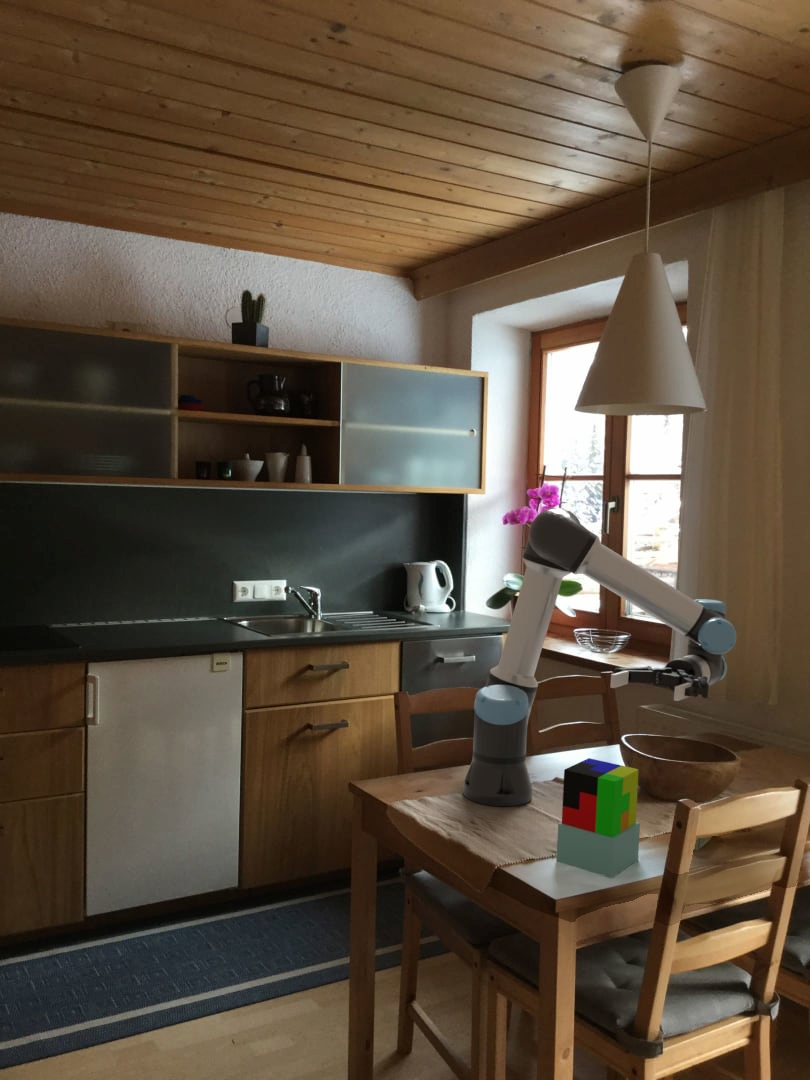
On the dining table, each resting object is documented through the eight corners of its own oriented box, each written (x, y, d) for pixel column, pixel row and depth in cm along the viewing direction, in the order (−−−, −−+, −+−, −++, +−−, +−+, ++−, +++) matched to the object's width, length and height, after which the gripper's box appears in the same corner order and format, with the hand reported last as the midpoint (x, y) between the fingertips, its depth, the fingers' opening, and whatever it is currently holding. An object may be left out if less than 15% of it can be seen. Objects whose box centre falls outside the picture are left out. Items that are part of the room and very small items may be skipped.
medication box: (698, 852, 178) (700, 831, 178) (684, 848, 180) (686, 828, 180) (717, 834, 188) (718, 815, 188) (703, 830, 190) (705, 811, 190)
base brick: (556, 860, 171) (558, 823, 171) (584, 844, 180) (585, 808, 179) (611, 878, 164) (613, 839, 164) (638, 859, 173) (640, 822, 173)
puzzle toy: (586, 809, 179) (588, 758, 178) (635, 822, 173) (638, 769, 172) (561, 823, 171) (564, 769, 170) (612, 837, 165) (615, 781, 164)
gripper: (742, 702, 195) (702, 718, 179) (631, 681, 211) (586, 694, 194) (745, 667, 195) (706, 680, 178) (633, 648, 210) (588, 658, 194)
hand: (643, 687), depth 186 cm, fingers open, 13 cm apart
